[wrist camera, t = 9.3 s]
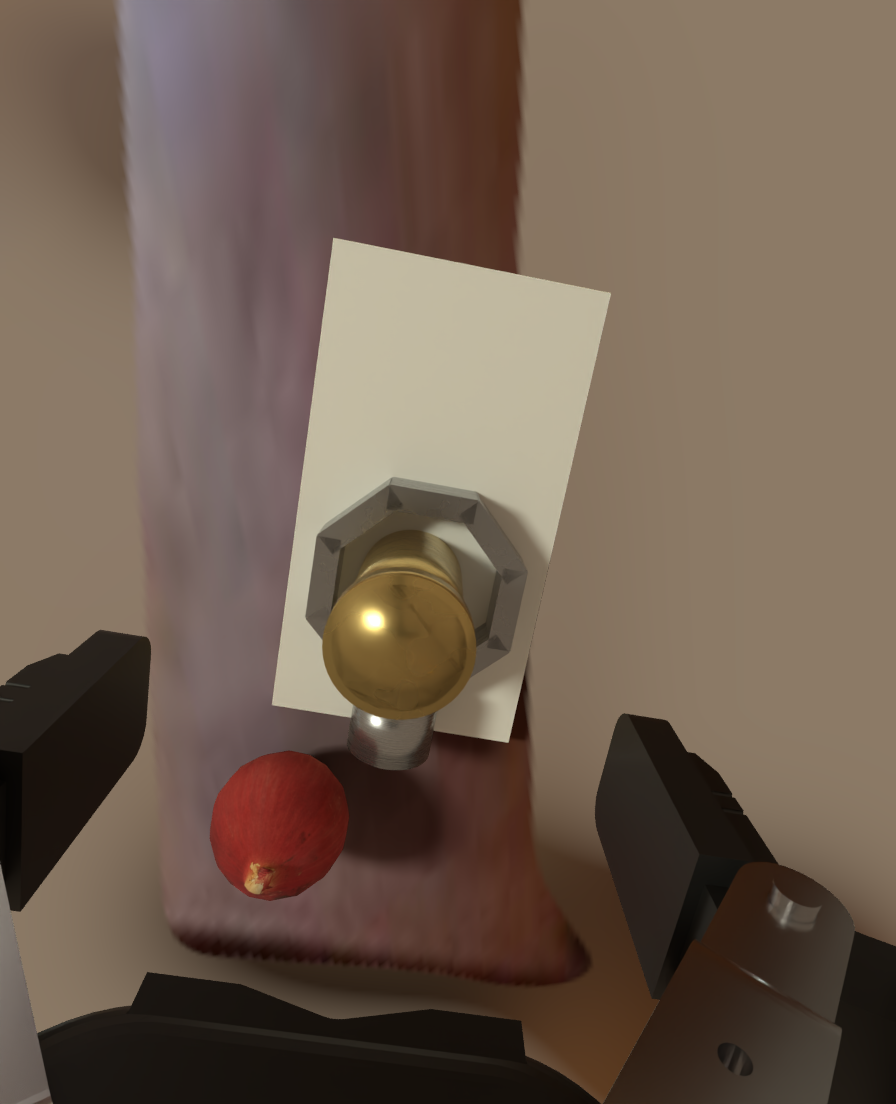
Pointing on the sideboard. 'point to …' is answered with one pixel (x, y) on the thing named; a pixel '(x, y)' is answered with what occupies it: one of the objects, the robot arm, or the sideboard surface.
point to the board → (440, 440)
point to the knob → (402, 630)
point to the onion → (279, 825)
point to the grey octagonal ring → (412, 738)
